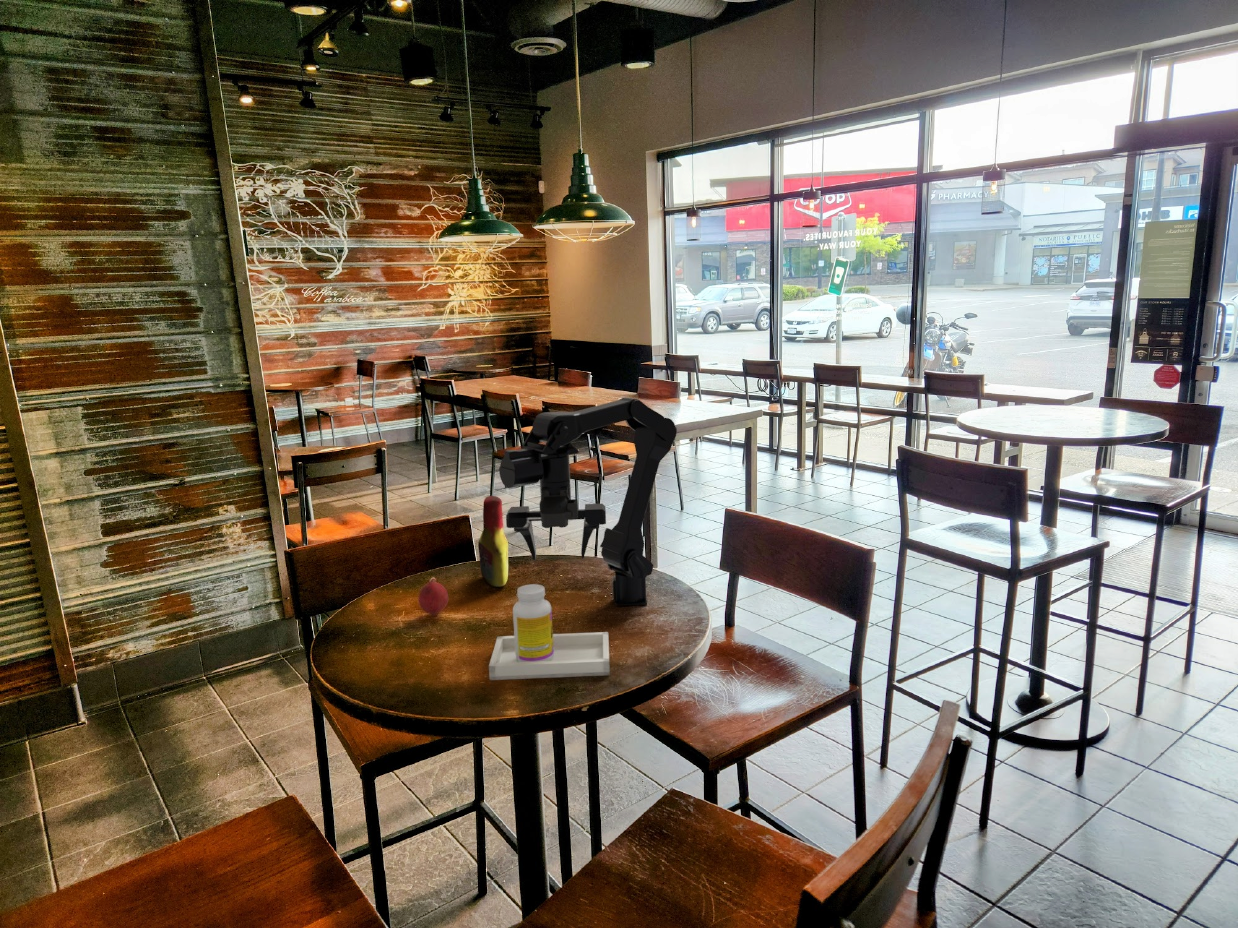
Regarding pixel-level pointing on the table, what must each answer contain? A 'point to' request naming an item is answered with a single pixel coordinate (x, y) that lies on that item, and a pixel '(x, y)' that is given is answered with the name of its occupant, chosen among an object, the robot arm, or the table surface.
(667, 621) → the table surface
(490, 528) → the bottle
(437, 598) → the onion
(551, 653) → the supplement bottle
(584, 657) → the tray
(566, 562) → the table surface
